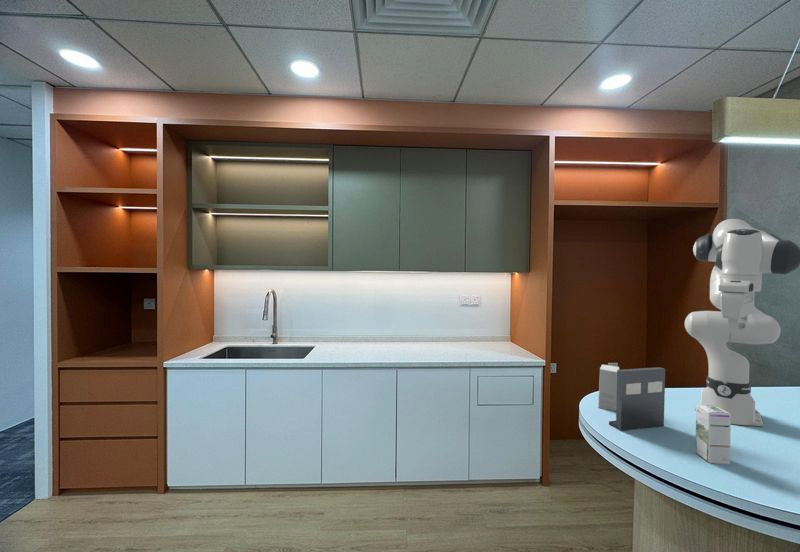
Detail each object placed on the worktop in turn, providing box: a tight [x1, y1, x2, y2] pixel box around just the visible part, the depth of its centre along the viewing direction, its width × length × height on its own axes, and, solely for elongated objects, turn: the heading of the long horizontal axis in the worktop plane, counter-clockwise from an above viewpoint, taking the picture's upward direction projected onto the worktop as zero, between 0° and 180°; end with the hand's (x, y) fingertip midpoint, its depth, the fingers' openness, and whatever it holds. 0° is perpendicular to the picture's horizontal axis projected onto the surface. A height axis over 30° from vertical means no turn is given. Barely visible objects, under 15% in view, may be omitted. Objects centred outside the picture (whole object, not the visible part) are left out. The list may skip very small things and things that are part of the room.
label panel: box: [608, 366, 666, 432], centre depth 124 cm, size 18×5×20 cm, turn 103°
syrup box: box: [695, 404, 732, 466], centre depth 102 cm, size 6×6×14 cm
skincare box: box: [597, 364, 620, 412], centre depth 141 cm, size 8×7×16 cm
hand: (737, 331), depth 106 cm, fingers open, 8 cm apart
